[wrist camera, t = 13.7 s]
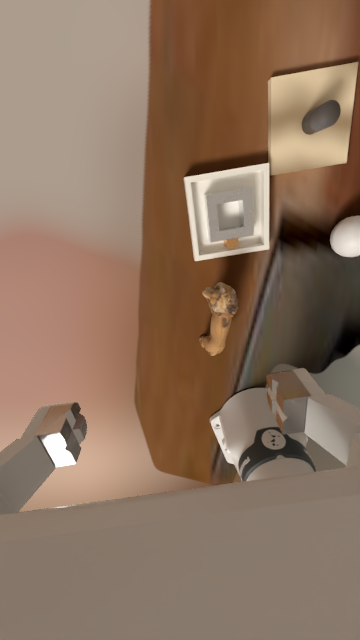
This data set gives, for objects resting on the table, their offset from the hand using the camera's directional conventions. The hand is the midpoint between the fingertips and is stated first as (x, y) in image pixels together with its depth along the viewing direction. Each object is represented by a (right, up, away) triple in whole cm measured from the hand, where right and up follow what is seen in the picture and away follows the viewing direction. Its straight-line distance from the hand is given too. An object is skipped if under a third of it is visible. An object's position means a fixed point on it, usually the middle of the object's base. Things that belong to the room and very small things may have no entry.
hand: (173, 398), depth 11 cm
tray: (+7, +19, +26) cm, 33 cm away
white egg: (+26, +17, +28) cm, 41 cm away
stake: (+16, +28, +22) cm, 39 cm away
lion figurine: (+6, +5, +33) cm, 34 cm away
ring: (+7, +18, +25) cm, 32 cm away
